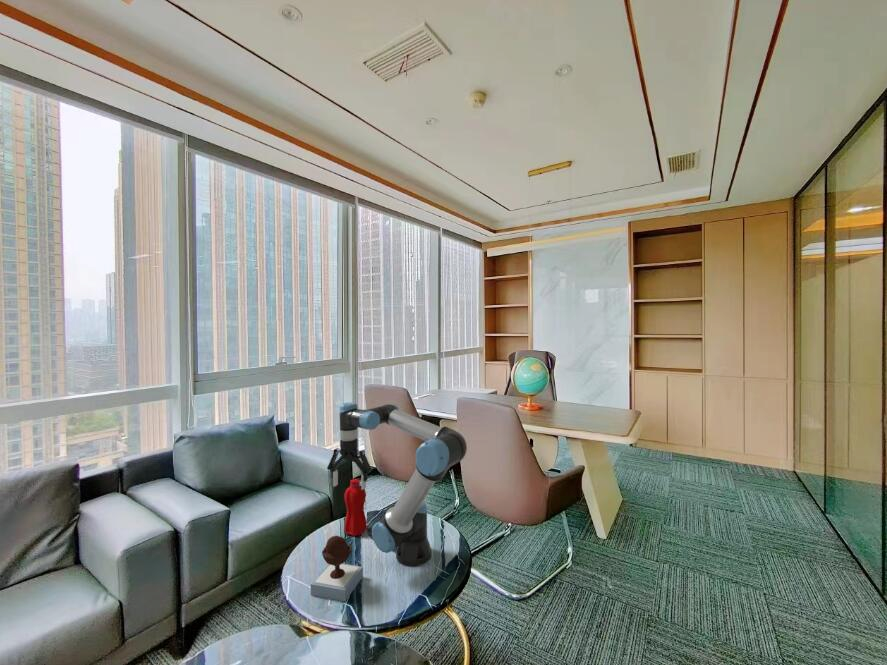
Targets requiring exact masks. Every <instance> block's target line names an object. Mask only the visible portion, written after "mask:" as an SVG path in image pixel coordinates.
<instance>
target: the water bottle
mask: <svg viewBox="0 0 887 665" xmlns="http://www.w3.org/2000/svg"><path fill="white" fill-rule="evenodd" d="M349 482H350V485H349V487H347V488H346V489H345V492H344V494H343V495H344V503H345V507H346V516H345V520H344V533H345V534H347V535H350V536H353V537H357V536H360V535H361V534H363V533H364V532H365V531H366V530H367V526H368V525H367V518H366V515H365V510H366V509H367V507H365V504H367V500H366V499H367V498H366V497H367V492H366V488H364V489H363V490H361V480H360V479H358V478H353V479H351V480H350V481H349Z"/></svg>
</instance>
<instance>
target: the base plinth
mask: <svg viewBox="0 0 887 665" xmlns="http://www.w3.org/2000/svg"><path fill="white" fill-rule="evenodd" d="M363 568H364V567H363V566H359V565H356V564H355V565H354V564H349V563H342V564H341V565H340V569H343V570H344V571H345V574H344V576H343V577H341V578H338V579H333V578H331V577H330V574H331V572H332V571H333V570H335V566H333V565H329V564H328V563H327V566H326V567H324V569H323V570H322V571H321V572H320V573H318V576H317V577H316V578H315V579H314V580H313V581H312V582H311V583H310V595H311V596H314V597H320V598H324V599H325V598H326V599H331V600H337V601H342V602H346V601H347V599H349V597H350V595H351V594H352V593H353V591H354V590H355V588H356V587H357V586H358V584H359V583H360V582H361V580H362V579H363V577H364V571H363V570H364V569H363Z"/></svg>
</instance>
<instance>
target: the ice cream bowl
mask: <svg viewBox="0 0 887 665" xmlns="http://www.w3.org/2000/svg"><path fill="white" fill-rule="evenodd" d="M352 550H353V547H352V545H351V544H350V543H349V542H347V541H346V538H345V537H342V536H340V535H333V536H331V537H329V539H327V541H326V544H325V546H324V548H323V549H322V551H321V554H322V557H323V560H325V561H324V562H326V564H327V565H328V564H329V565H333V566H335V570H333V571H332V572H331V574H330V577H331V578H333V579H338V578H341V577H343V576H344V574H345V571H344V570H343V569H340V565H341V564H342V563H343V564H345V562H347V561H348V559H349V557H350V555H351V553H352Z"/></svg>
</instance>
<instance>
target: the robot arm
mask: <svg viewBox="0 0 887 665" xmlns="http://www.w3.org/2000/svg"><path fill="white" fill-rule="evenodd" d="M338 415H339V439H340V440H339V447H340V448H339V447H336V448H335V449H333V453H332V457H331V458H330V461H329V463H328V465H327V467H326V469H327V470H329V471H330V472H331V479H332V486H333V487H336V486H338V484H339V482H338V481H339V476H338V475H339V472H338V471H339V470H338V469H337V468H338V467H339V466H340V465H341V463H342V462H343V461H350V462H353V463H355V465H356V466H357V467H358V469H359V470H360V472H361V473H362V474H360V475H361V478H360V479H361V480H360V486H361V490H363V489H364V488H365V489H366V488H367V483H366V482H367V481H368V476H369V475H368V474H370V473H371V472H372V470H373V469H372V467H371V464H370V463H369V461H368V458H367V456H366V452H365V450H364V449H362V450H359V449H358V447H359V440H358V434H359V433H358V432H359V431H358V428H360V429H363V430H368V431H369V430H375V429H376V428H377V427H378V426H379V425H382V424H387V425H389V426H391V427H394V428H396V429H398V430H400V431H402V432H404V433H406V434H408V435H411V436H414V437H416V438H418V439H420V440H422V441H424V442H423V443H422V444H420V445H419V446H418V447H417V450H416V452H415V455H414V456H415V462H414V463H415V470H414V472H413V474H412V475H411V477H410V479H409V480H408V482H407V484H406V486H405V487H404V489H403V491H402V492H401V494H400V495H399V497H398V499H397V500H396V503H395V504H394V506H392V507H390V508H388V509H387V510H386V512H385V513H384V516H383V517H382V518H381V519H380V520H379V521H377V522H375V524H374V525H373V526H372V529H371V537H372V540H373V543H374V545H375V546H376V547H377V548H378V549H377V550H379V551H381V552H382V553H385V554H387V553H388V554H389V553H390V552H392V551H395V549H396V551H395V558H396V561H397V562H398V563H399V564H401V565H403V566H405V567H419V566H422V565H424V564H426V563H428V562H429V561H430V559H431V558H432V547H431V545H430V541H429V539H428V538H429V537H428V510H427V509H428V508H427V504H426V503H425V500H426V498H427V496H428V494H430V492H431V490H432V488H433V487H434V486H435V483H438V482H440V481H442V479H444V477H445V475H446V473H447V472H448V470H449V469H450V468H451V467H452V466H454V465H456V464H458V463H459V462H462V460H463V459H464V458H465V456H466V454H467V450H468V447H467V446H468V445H467V442H466V439H465V437H464V436H463V435H462V434H461V433H460V432H458V431H457V430H455V429H452V428H451V427H448V426H442V427H441V426H439V425H436V424H433V423H432V422H428V421H427V420H424V419H421V418H419V417H417V416H415V415H412V414H409V413H407V412H404V411H402V410H400V409H399V407H398V406H397V404H395V403H388V404H384V405H381V406H376V407H373V408H368V409H360V408H358V404H357V403H356V402H352V401H351V402H343V403H341V404H340V405H339V414H338ZM339 454H340V455H341V456H340V457H339V458H338V455H339ZM337 458H338V460H337ZM336 460H337V461H336Z"/></svg>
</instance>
